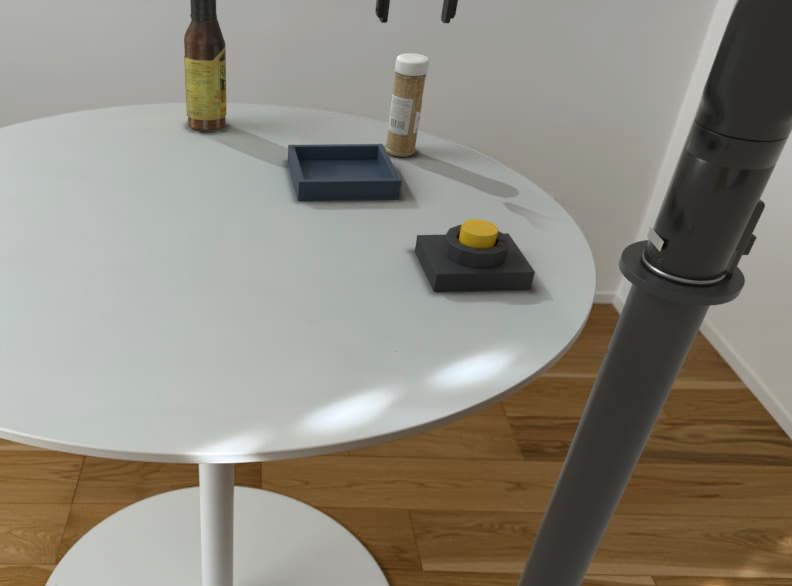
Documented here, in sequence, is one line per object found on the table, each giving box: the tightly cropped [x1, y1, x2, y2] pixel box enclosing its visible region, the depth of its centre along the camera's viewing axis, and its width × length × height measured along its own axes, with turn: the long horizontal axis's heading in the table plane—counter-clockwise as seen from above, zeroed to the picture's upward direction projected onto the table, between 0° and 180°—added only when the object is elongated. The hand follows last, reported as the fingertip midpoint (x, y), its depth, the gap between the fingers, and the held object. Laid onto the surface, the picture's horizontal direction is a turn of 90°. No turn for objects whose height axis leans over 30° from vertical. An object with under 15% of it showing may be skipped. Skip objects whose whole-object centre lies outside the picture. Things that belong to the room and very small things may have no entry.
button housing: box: [414, 224, 536, 292], centre depth 89 cm, size 11×9×4 cm
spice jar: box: [384, 52, 430, 158], centre depth 112 cm, size 5×5×13 cm
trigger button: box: [459, 218, 499, 249], centre depth 87 cm, size 4×4×2 cm
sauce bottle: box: [183, 0, 227, 132], centre depth 117 cm, size 6×6×20 cm
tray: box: [286, 143, 403, 202], centre depth 108 cm, size 14×13×3 cm
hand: (414, 21), depth 105 cm, fingers open, 8 cm apart
